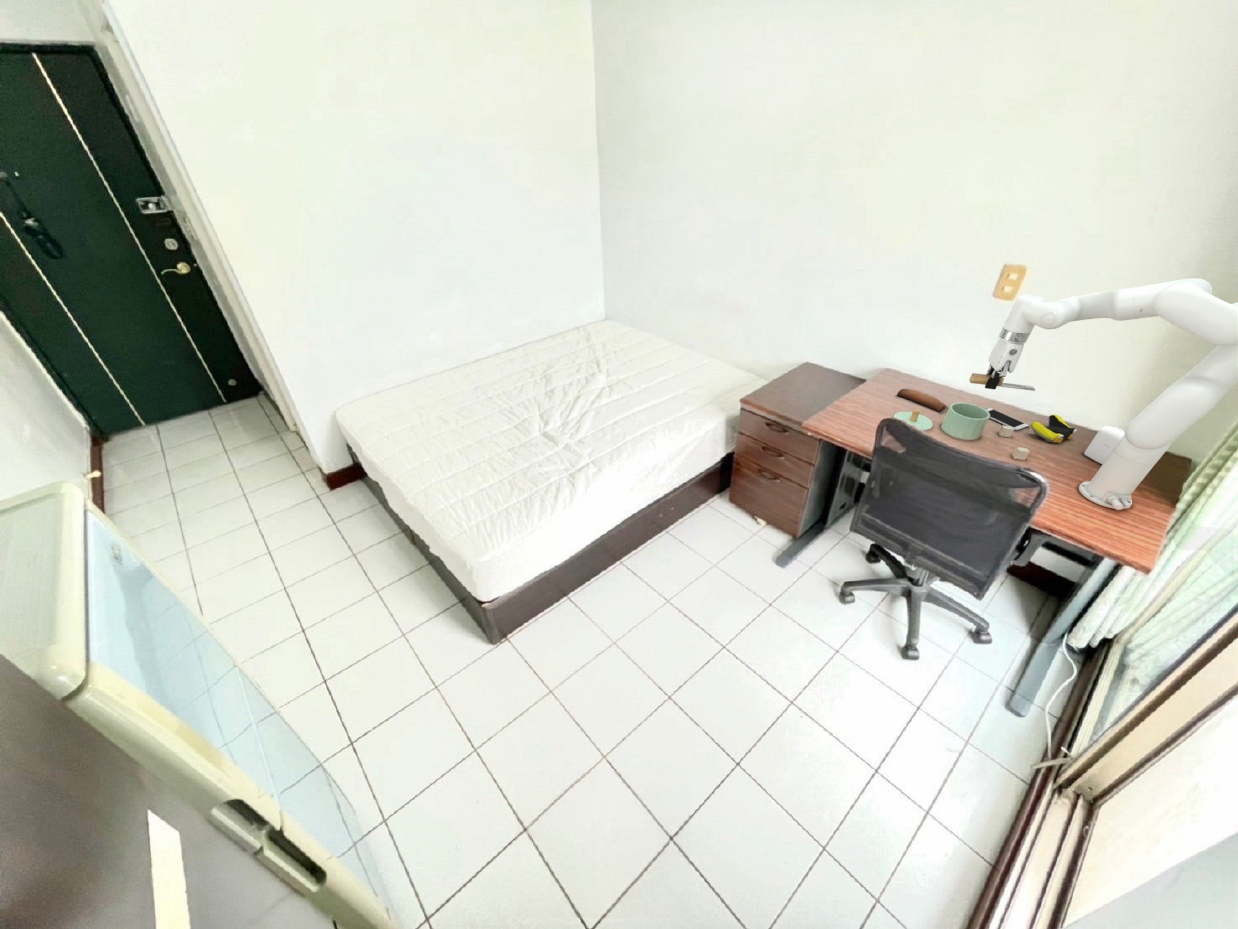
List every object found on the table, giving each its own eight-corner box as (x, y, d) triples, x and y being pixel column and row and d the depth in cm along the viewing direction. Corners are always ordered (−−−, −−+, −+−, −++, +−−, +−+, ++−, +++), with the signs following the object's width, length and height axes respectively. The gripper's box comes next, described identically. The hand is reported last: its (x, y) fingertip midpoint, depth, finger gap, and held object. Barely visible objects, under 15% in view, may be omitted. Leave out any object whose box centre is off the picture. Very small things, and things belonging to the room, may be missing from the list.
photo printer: (1080, 453, 169) (1100, 423, 162) (1089, 452, 170) (1110, 421, 163) (1110, 470, 161) (1133, 439, 154) (1120, 468, 162) (1144, 437, 155)
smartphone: (990, 407, 194) (1029, 425, 183) (989, 408, 195) (1028, 426, 184) (978, 411, 192) (1017, 429, 181) (977, 413, 192) (1016, 431, 181)
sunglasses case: (950, 406, 196) (951, 396, 191) (939, 418, 195) (940, 409, 190) (906, 390, 208) (906, 380, 203) (896, 401, 207) (896, 392, 202)
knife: (1035, 390, 162) (1039, 383, 160) (970, 383, 166) (974, 376, 164) (1031, 387, 164) (1036, 379, 162) (968, 379, 168) (972, 372, 167)
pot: (983, 443, 175) (994, 421, 170) (944, 437, 178) (954, 416, 173) (973, 425, 185) (984, 404, 180) (937, 421, 188) (946, 400, 183)
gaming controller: (1023, 434, 180) (1052, 447, 173) (1030, 421, 177) (1060, 434, 169) (1046, 424, 185) (1076, 437, 178) (1054, 412, 182) (1084, 424, 175)
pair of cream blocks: (1024, 460, 167) (1029, 451, 164) (1013, 458, 167) (1018, 450, 165) (1008, 434, 180) (1012, 426, 178) (998, 433, 180) (1002, 425, 178)
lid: (935, 434, 180) (941, 421, 177) (895, 429, 183) (900, 416, 180) (927, 416, 191) (933, 404, 187) (890, 412, 194) (894, 399, 190)
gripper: (1037, 345, 148) (1008, 398, 159) (1018, 327, 161) (993, 378, 172) (1009, 343, 150) (982, 395, 161) (993, 325, 162) (969, 375, 173)
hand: (988, 386), depth 166 cm, fingers closed on knife, 2 cm apart
